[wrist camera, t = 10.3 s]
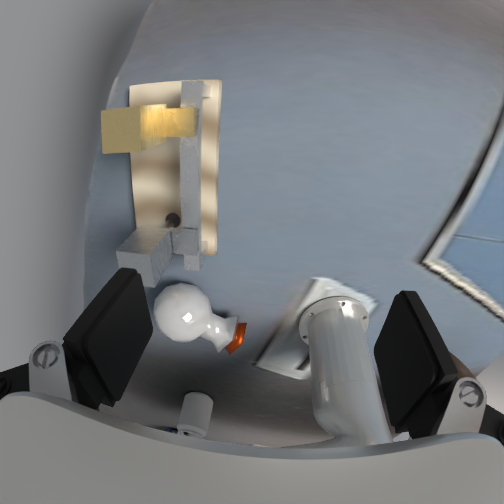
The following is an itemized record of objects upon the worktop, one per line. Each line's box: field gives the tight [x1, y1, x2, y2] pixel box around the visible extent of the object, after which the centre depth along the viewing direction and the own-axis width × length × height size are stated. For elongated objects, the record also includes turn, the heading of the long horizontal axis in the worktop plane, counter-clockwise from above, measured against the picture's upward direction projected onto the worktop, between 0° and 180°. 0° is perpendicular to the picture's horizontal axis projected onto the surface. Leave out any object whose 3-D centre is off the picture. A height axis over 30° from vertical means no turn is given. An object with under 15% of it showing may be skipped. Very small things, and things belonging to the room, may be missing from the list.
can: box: [177, 392, 213, 439], centre depth 59 cm, size 8×8×12 cm
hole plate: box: [129, 80, 222, 255], centre depth 35 cm, size 24×12×2 cm, turn 176°
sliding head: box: [101, 104, 197, 154], centre depth 25 cm, size 4×7×12 cm, turn 86°
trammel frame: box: [116, 80, 211, 288], centre depth 29 cm, size 23×7×12 cm, turn 176°
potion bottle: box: [153, 282, 247, 355], centre depth 43 cm, size 9×10×15 cm
